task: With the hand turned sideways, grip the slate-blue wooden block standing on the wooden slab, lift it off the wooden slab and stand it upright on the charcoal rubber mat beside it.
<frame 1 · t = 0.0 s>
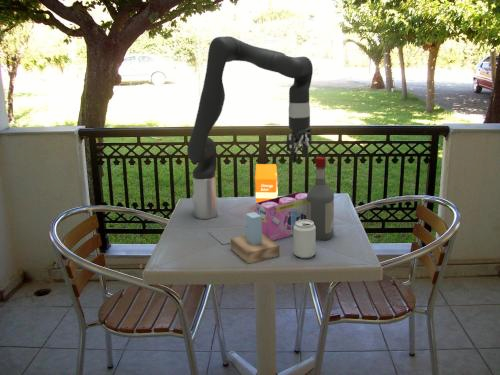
hand: (299, 159, 188), 29 cm above the table, tool pointing down, fingers open, 8 cm apart
wooden slab: (254, 252, 182), on the table
orange juice: (267, 209, 227), on the table
mat: (232, 235, 198), on the table
liquor: (320, 236, 195), on the table
gum box: (286, 232, 200), on the table
can: (304, 255, 179), on the table
block: (254, 242, 181), point 4 cm above the table, touching wooden slab
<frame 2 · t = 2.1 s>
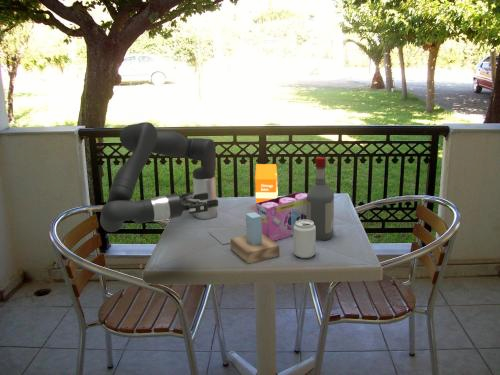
hand: (212, 199, 170), 22 cm above the table, tool horizontal, fingers open, 8 cm apart
nothing on the table moved.
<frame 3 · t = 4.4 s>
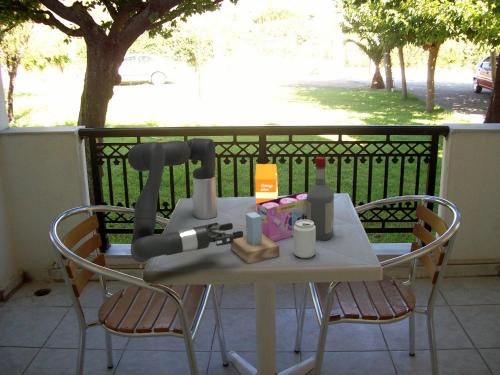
hand: (237, 229, 177), 10 cm above the table, tool horizontal, fingers open, 8 cm apart
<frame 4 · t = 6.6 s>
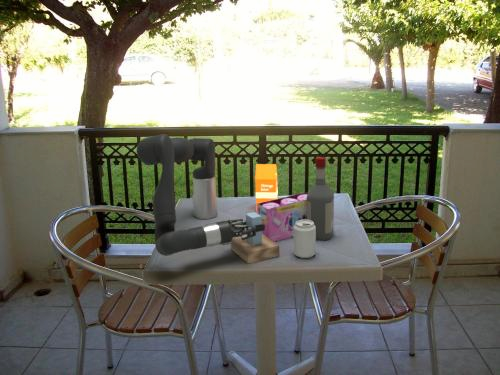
hand: (260, 224, 180), 10 cm above the table, tool horizontal, fingers closed on block, 5 cm apart
block: (254, 242, 181), point 4 cm above the table, touching wooden slab, gripper
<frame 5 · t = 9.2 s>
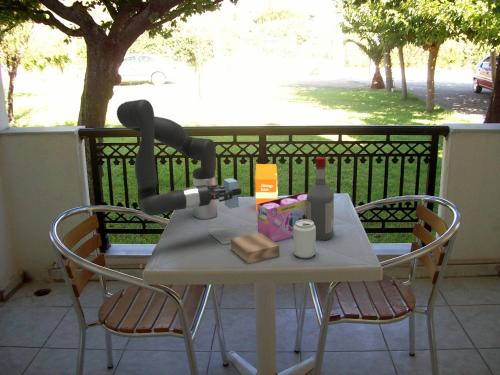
hand: (237, 189, 194), 18 cm above the table, tool horizontal, fingers closed on block, 5 cm apart
block: (231, 205, 195), point 12 cm above the table, touching gripper
when the fingers open (8 cm above the table, at t = 12.2 s): block drops 1 cm, resting on mat.
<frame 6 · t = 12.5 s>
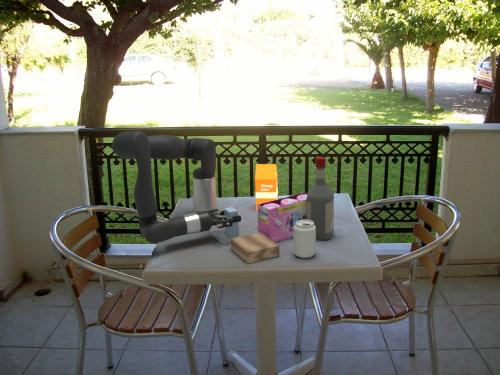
hand: (236, 214, 197), 8 cm above the table, tool horizontal, fingers open, 8 cm apart
block: (232, 234, 198), resting on mat
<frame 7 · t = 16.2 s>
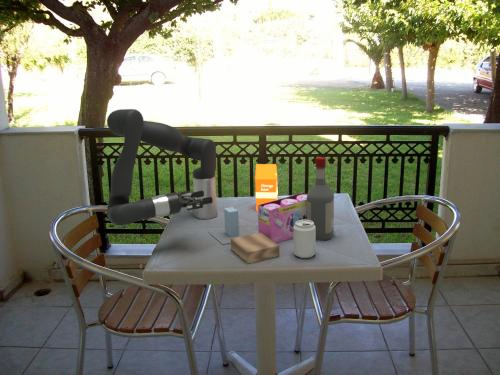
hand: (207, 196, 190), 17 cm above the table, tool horizontal, fingers open, 8 cm apart
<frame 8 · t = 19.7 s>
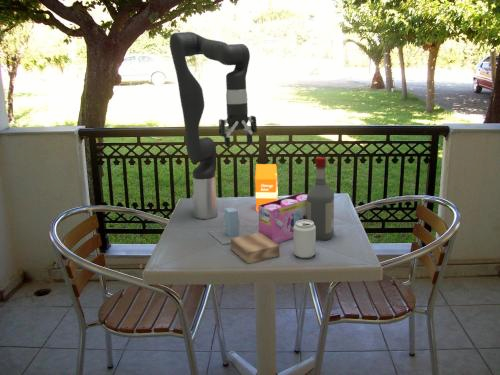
hand: (238, 145, 191), 34 cm above the table, tool pointing down, fingers open, 8 cm apart
at the end: block inside the target area on the mat (0.0 cm from its centre), point 0.3 cm above the mat's base; block tilted 0°; the gripper is holding nothing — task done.
